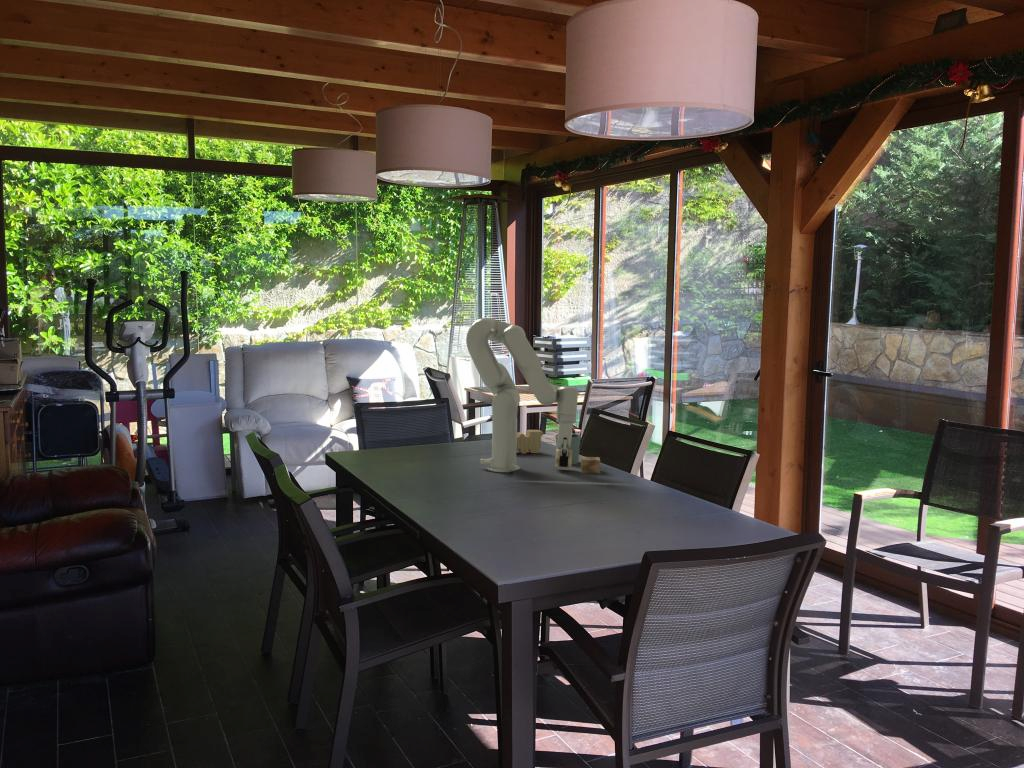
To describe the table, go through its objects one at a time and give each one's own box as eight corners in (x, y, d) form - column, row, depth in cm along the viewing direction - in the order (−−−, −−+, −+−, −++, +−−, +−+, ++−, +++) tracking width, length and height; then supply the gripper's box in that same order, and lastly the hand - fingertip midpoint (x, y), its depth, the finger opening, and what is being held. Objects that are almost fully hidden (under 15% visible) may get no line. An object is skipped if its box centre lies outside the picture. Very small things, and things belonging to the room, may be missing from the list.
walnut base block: (581, 472, 334) (581, 459, 333) (580, 469, 341) (581, 456, 340) (599, 473, 333) (600, 460, 333) (598, 470, 340) (599, 457, 340)
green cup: (584, 465, 355) (585, 436, 354) (565, 467, 349) (565, 437, 348) (569, 461, 363) (570, 432, 362) (549, 463, 358) (550, 434, 357)
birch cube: (555, 466, 335) (556, 451, 334) (555, 464, 340) (556, 448, 340) (571, 467, 334) (572, 452, 334) (570, 465, 340) (571, 449, 340)
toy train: (502, 452, 382) (502, 429, 381) (539, 451, 386) (540, 429, 385) (505, 454, 376) (505, 431, 375) (543, 454, 381) (543, 431, 380)
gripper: (556, 415, 344) (553, 460, 346) (556, 420, 327) (553, 468, 329) (575, 416, 344) (572, 461, 346) (576, 422, 327) (573, 469, 329)
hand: (563, 464), depth 337 cm, fingers closed on birch cube, 6 cm apart
